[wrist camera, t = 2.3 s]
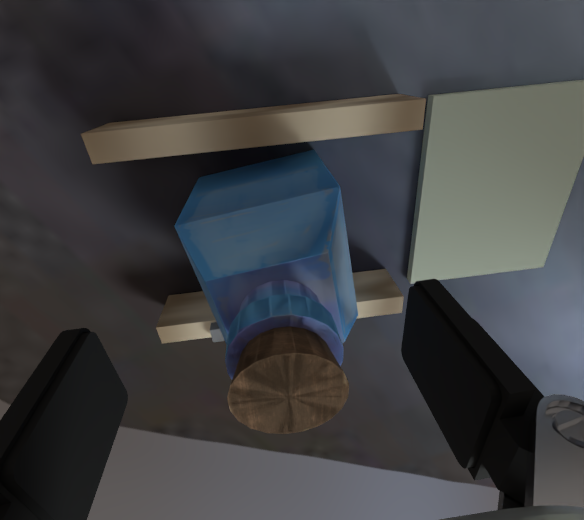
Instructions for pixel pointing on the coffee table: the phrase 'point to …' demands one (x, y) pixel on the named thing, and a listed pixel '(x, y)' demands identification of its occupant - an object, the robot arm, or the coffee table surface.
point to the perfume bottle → (276, 286)
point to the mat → (494, 178)
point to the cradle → (246, 134)
